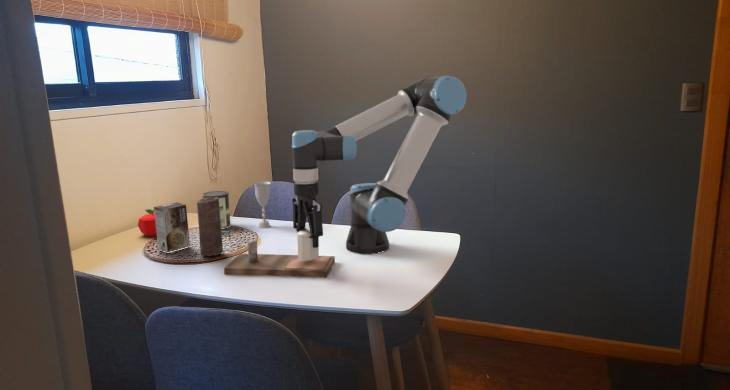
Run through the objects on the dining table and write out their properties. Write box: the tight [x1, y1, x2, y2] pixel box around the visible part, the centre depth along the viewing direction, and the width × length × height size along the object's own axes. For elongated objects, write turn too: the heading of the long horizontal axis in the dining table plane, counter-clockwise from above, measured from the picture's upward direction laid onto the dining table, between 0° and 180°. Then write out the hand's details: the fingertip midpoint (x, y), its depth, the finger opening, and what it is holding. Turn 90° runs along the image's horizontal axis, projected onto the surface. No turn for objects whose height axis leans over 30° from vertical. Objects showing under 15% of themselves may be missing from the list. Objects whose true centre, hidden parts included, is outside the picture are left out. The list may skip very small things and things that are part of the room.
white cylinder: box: [296, 229, 318, 260], centre depth 164 cm, size 6×6×8 cm
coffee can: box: [201, 190, 232, 229], centre depth 214 cm, size 10×10×14 cm
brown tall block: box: [196, 197, 224, 257], centre depth 178 cm, size 8×7×20 cm
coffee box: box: [153, 201, 191, 252], centre depth 185 cm, size 9×6×16 cm
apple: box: [137, 209, 157, 237], centre depth 205 cm, size 11×11×10 cm
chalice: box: [253, 181, 272, 229], centre depth 213 cm, size 7×7×18 cm
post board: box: [223, 240, 336, 278], centre depth 166 cm, size 32×14×8 cm, turn 83°
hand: (308, 254), depth 165 cm, fingers closed on white cylinder, 6 cm apart
